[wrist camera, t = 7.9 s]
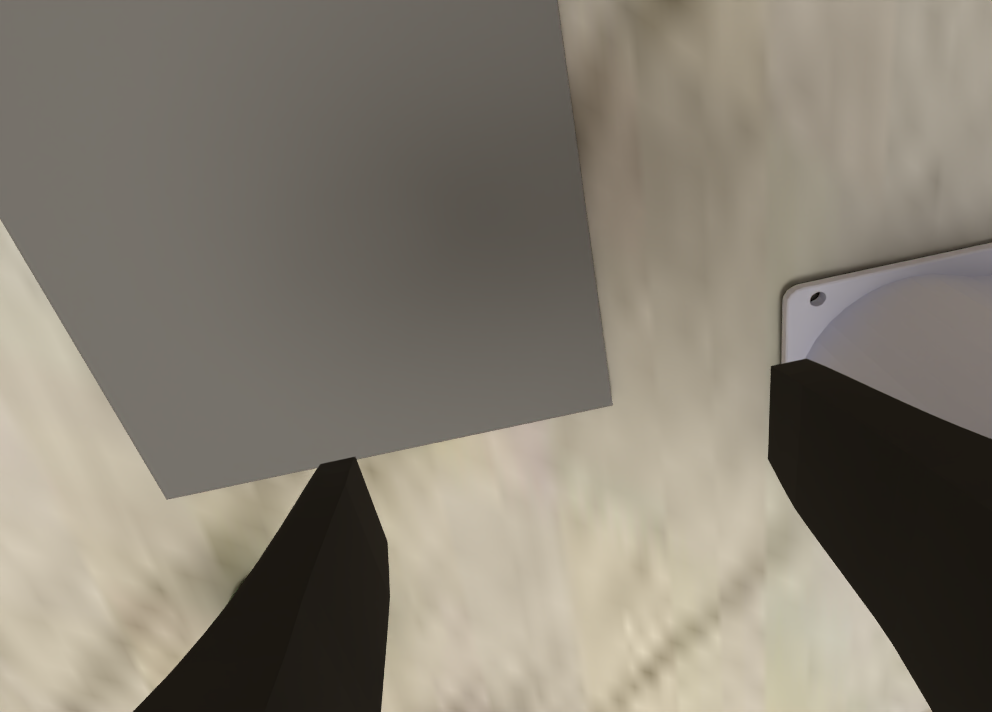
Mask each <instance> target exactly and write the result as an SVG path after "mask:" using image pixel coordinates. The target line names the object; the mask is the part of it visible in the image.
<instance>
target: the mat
mask: <svg viewBox="0 0 992 712" xmlns="http://www.w3.org/2000/svg"><path fill="white" fill-rule="evenodd" d="M0 219H1V221H2V223H3V224H4V226H5V228H6V229H7V231H8V233H9V234H10V236H11V238H12V239H13V241H14V243H15V245H16V246H17V248H18V250H19V251H20V253H21V255H22V256H23V258H24V260H25V261H26V263H27V265H28V266H29V268H30V270H31V272H32V273H33V275H34V277H35V278H36V280H37V282H38V283H39V285H40V287H41V288H42V290H43V292H44V293H45V295H46V297H47V299H48V300H49V302H50V304H51V305H52V307H53V309H54V310H55V312H56V314H57V315H58V317H59V319H60V320H61V322H62V324H63V326H64V327H65V329H66V331H67V332H68V334H69V336H70V337H71V339H72V341H73V342H74V344H75V346H76V347H77V349H78V351H79V353H80V354H81V356H82V358H83V359H84V361H85V363H86V364H87V366H88V368H89V369H90V371H91V373H92V374H93V376H94V378H95V379H96V381H97V383H98V385H99V386H100V388H101V390H102V391H103V393H104V395H105V396H106V398H107V400H108V401H109V403H110V405H111V406H112V408H113V410H114V412H115V413H116V415H117V417H118V418H119V420H120V422H121V423H122V425H123V427H124V428H125V430H126V432H127V433H128V435H129V437H130V439H131V440H132V442H133V444H134V445H135V447H136V449H137V450H138V452H139V454H140V455H141V457H142V459H143V460H144V462H145V464H146V466H147V467H148V469H149V471H150V472H151V474H152V476H153V477H154V479H155V481H156V482H157V484H158V486H159V487H160V489H161V491H162V493H163V494H164V496H165V498H166V499H167V500H168V499H172V498H177V497H182V496H187V495H191V494H196V493H201V492H205V491H210V490H215V489H220V488H224V487H229V486H234V485H239V484H243V483H248V482H253V481H257V480H262V479H267V478H272V477H276V476H281V475H286V474H290V473H295V472H300V471H305V470H309V469H314V468H318V467H319V465H320V464H323V463H327V462H332V461H337V460H341V459H346V458H350V457H356V460H357V459H361V458H366V457H371V456H376V455H380V454H385V453H390V452H394V451H399V450H404V449H409V448H413V447H418V446H423V445H428V444H432V443H437V442H442V441H446V440H451V439H456V438H461V437H465V436H470V435H475V434H480V433H484V432H489V431H494V430H498V429H503V428H508V427H513V426H517V425H522V424H527V423H532V422H536V421H541V420H546V419H550V418H555V417H560V416H565V415H569V414H574V413H579V412H584V411H588V410H593V409H598V408H602V407H607V406H612V405H613V403H612V396H611V389H610V382H609V374H608V367H607V360H606V352H605V345H604V338H603V330H602V323H601V316H600V308H599V301H598V294H597V286H596V279H595V272H594V265H593V257H592V250H591V243H590V235H589V228H588V221H587V213H586V206H585V199H584V191H583V184H582V177H581V170H580V162H579V155H578V148H577V140H576V133H575V126H574V118H573V111H572V104H571V96H570V89H569V82H568V74H567V67H566V60H565V53H564V45H563V38H562V31H561V23H560V16H559V9H558V1H557V0H0Z"/></svg>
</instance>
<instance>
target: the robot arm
mask: <svg viewBox="0 0 992 712" xmlns="http://www.w3.org/2000/svg"><path fill="white" fill-rule="evenodd" d="M816 292H820V294H819V297H818V298H817V299H816V300H814V301H810V298H811V296H812V295H813V294H814V293H816ZM768 460H769V462H770V464H771V466H772V467H773V469H774V471H775V473H776V475H777V477H778V479H779V481H780V483H781V485H782V487H783V488H784V490H785V492H786V494H787V495H788V497H789V499H790V501H791V502H792V504H793V506H794V508H795V509H796V511H797V512H798V514H799V515H800V516H801V518H802V519H803V521H804V522H805V523H806V525H807V526H808V528H809V529H810V530H811V532H812V533H813V534H814V536H815V537H816V539H817V540H818V541H819V543H820V544H821V546H822V547H823V548H824V550H825V551H826V552H827V554H828V555H829V556H830V558H831V559H832V560H833V562H834V563H835V565H836V566H837V567H838V569H839V570H840V571H841V573H842V574H843V575H844V577H845V578H846V579H847V581H848V582H849V584H850V585H851V586H852V588H853V589H854V590H855V592H856V593H857V594H858V596H859V597H860V598H861V600H862V601H863V602H864V604H865V605H866V607H867V608H868V609H869V611H870V612H871V613H872V615H873V616H874V617H875V619H876V620H877V622H878V623H879V625H880V626H881V628H882V629H883V631H884V632H885V634H886V635H887V637H888V638H889V640H890V641H891V643H892V644H893V646H894V647H895V649H896V651H897V652H898V654H899V656H900V657H901V659H902V661H903V662H904V664H905V666H906V667H907V669H908V671H909V672H910V674H911V676H912V678H913V679H914V681H915V683H916V684H917V686H918V688H919V689H920V691H921V693H922V694H923V696H924V698H925V699H926V701H927V703H928V705H929V706H930V708H931V710H932V712H992V243H987V244H983V245H978V246H973V247H969V248H964V249H959V250H955V251H950V252H945V253H941V254H936V255H931V256H927V257H922V258H917V259H913V260H908V261H904V262H899V263H894V264H890V265H885V266H880V267H876V268H871V269H866V270H862V271H857V272H852V273H848V274H843V275H838V276H834V277H829V278H825V279H820V280H815V281H811V282H806V283H801V284H797V285H795V286H792V287H791V288H790V289H788V290H787V291H786V293H785V295H784V297H783V301H782V361H781V364H778V365H774V366H771V384H770V414H769V445H768ZM389 602H390V586H389V563H388V544H387V539H386V537H385V534H384V531H383V529H382V526H381V523H380V521H379V518H378V515H377V513H376V510H375V508H374V505H373V502H372V500H371V497H370V494H369V492H368V489H367V486H366V484H365V481H364V478H363V476H362V473H361V470H360V468H359V465H358V462H357V460H356V457H350V458H346V459H341V460H337V461H332V462H327V463H323V464H320V465H319V467H318V468H317V470H316V471H315V473H314V474H313V476H312V477H311V479H310V480H309V482H308V484H307V485H306V487H305V489H304V490H303V492H302V493H301V495H300V497H299V498H298V500H297V501H296V503H295V505H294V506H293V508H292V510H291V511H290V513H289V514H288V516H287V518H286V519H285V521H284V522H283V524H282V526H281V527H280V529H279V530H278V532H277V533H276V535H275V536H274V538H273V539H272V541H271V542H270V544H269V545H268V547H267V548H266V550H265V551H264V553H263V555H262V556H261V558H260V559H259V561H258V562H257V564H256V565H255V566H254V568H253V569H252V571H251V572H250V574H249V575H248V576H247V578H246V579H245V580H244V582H243V583H242V585H241V586H240V587H239V589H238V590H237V591H236V593H235V594H234V596H233V597H232V598H231V600H230V601H229V603H228V604H227V605H226V607H225V608H224V609H223V611H222V612H221V613H220V615H219V616H218V617H217V618H216V620H215V621H214V622H213V623H212V625H211V626H210V627H209V628H208V629H207V631H206V632H205V633H204V634H203V636H202V637H201V638H200V639H199V640H198V641H197V643H196V644H195V645H194V646H193V647H192V648H191V650H190V651H189V652H188V653H187V654H186V655H185V657H184V658H183V659H182V660H181V661H180V662H179V664H178V665H177V666H176V667H175V668H174V669H173V670H172V671H171V673H170V674H169V675H168V676H167V677H166V678H165V679H164V680H163V681H162V682H161V683H160V684H159V685H158V686H157V687H156V688H155V689H154V690H153V691H152V693H151V694H150V695H149V696H148V697H147V698H146V699H145V700H144V701H143V702H142V703H141V704H140V705H139V706H138V707H137V708H136V709H135V710H134V711H133V712H381V704H382V692H383V679H384V667H385V655H386V643H387V630H388V616H389Z"/></svg>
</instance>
